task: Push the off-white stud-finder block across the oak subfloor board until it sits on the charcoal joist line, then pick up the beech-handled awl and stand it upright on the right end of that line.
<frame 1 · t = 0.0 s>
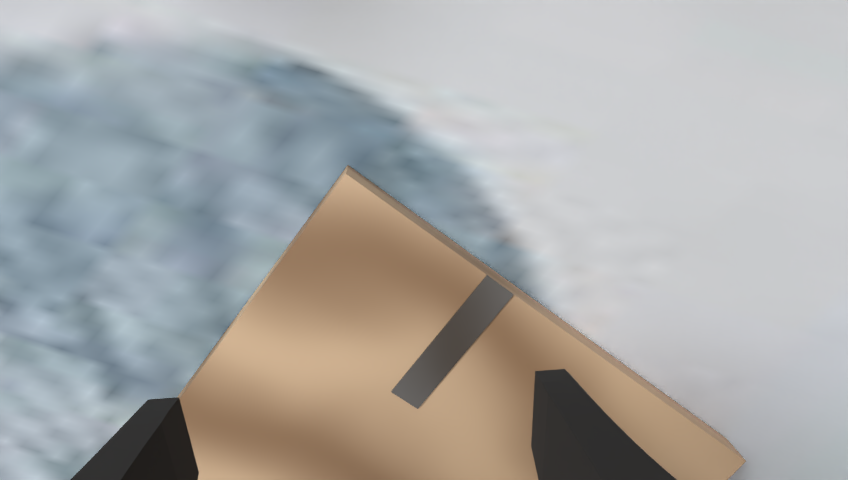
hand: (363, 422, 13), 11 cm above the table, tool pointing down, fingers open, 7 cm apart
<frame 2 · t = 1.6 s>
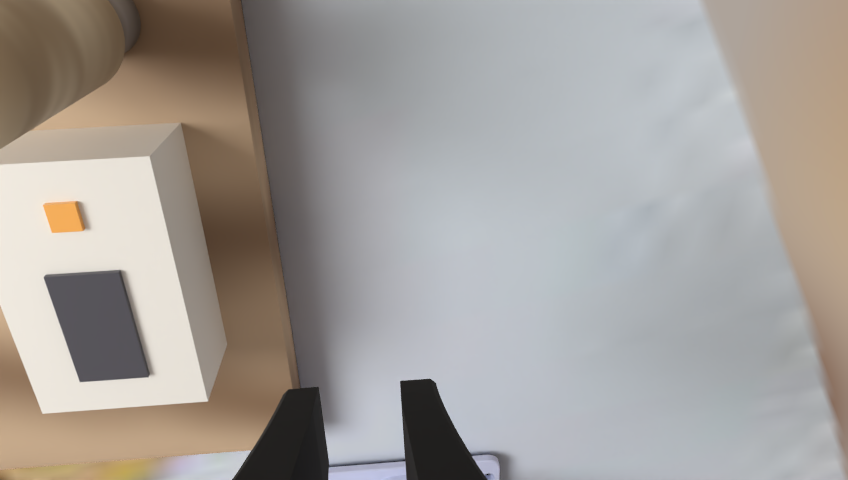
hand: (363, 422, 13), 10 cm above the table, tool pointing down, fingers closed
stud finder: (127, 247, 21), point 1 cm above the table, touching subfloor board
awl: (102, 18, 18), point 1 cm above the table, touching subfloor board
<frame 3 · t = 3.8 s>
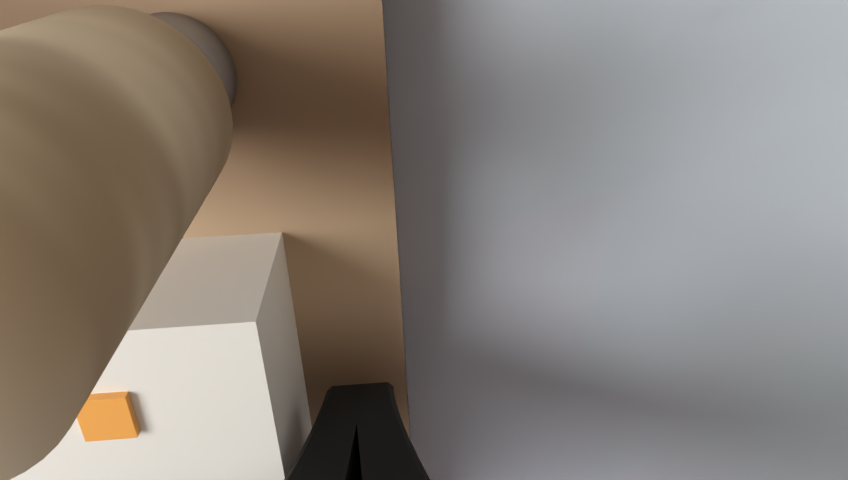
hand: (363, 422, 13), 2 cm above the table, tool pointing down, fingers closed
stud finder: (190, 406, 14), point 1 cm above the table, touching gripper, subfloor board
awl: (175, 75, 11), point 1 cm above the table, touching subfloor board
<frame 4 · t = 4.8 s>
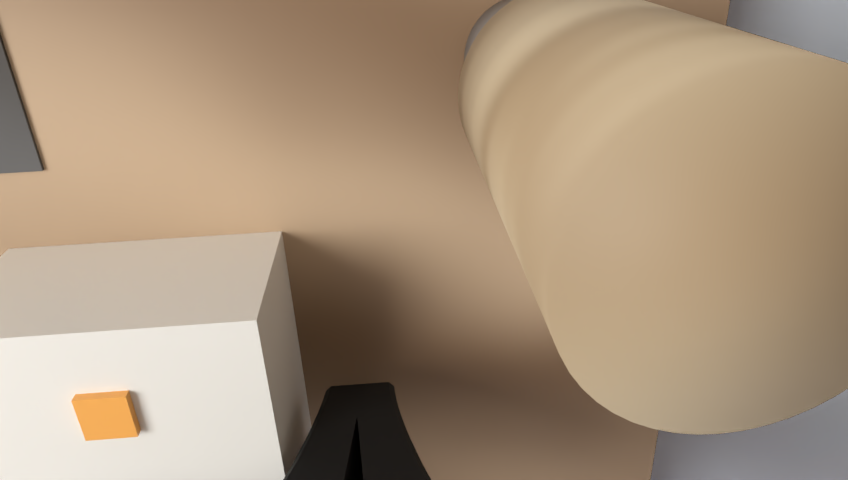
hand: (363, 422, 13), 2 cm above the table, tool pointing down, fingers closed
subfloor board: (241, 325, 15), on the table
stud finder: (189, 406, 14), point 2 cm above the table, touching gripper, subfloor board
awl: (522, 56, 11), point 1 cm above the table, touching subfloor board
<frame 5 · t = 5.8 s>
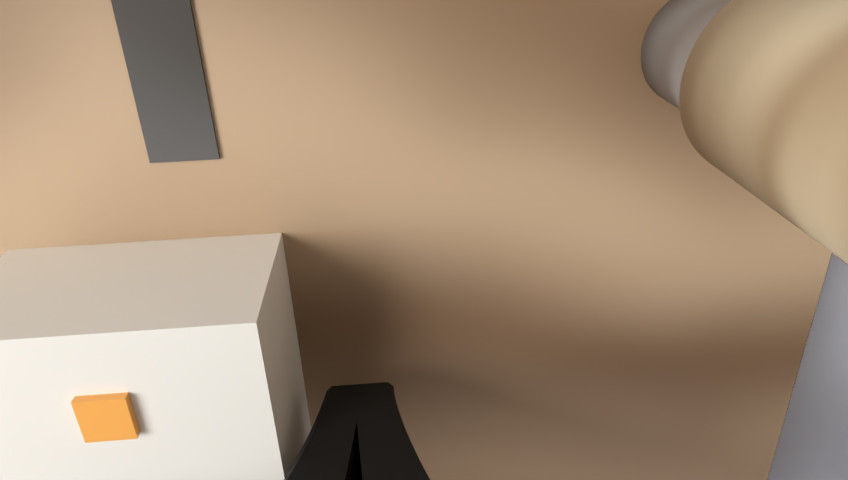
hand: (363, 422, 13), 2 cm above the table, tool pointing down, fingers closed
subfloor board: (373, 315, 15), on the table
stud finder: (189, 407, 14), point 1 cm above the table, touching gripper, subfloor board
awl: (697, 47, 11), point 1 cm above the table, touching subfloor board
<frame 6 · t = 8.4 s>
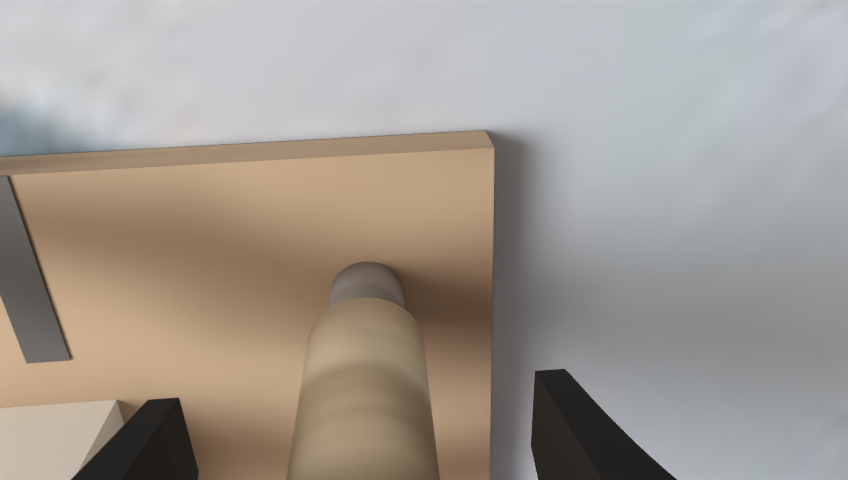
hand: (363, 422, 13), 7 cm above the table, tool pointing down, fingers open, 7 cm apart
subfloor board: (201, 435, 22), on the table
awl: (367, 293, 18), point 1 cm above the table, touching subfloor board
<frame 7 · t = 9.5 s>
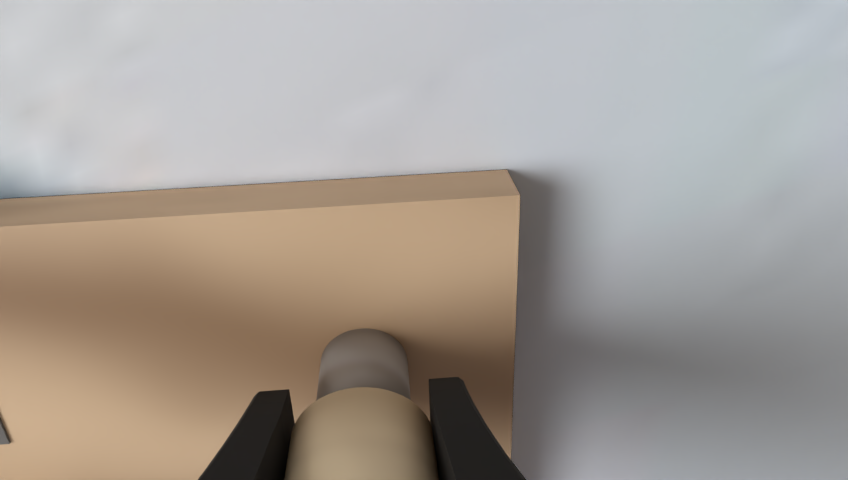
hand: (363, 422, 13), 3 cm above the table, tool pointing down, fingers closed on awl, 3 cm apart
awl: (364, 364, 15), point 1 cm above the table, touching gripper, subfloor board
when the fingers open (5 cm above the table, at t = 12.5 s): awl drops 1 cm, resting on subfloor board.
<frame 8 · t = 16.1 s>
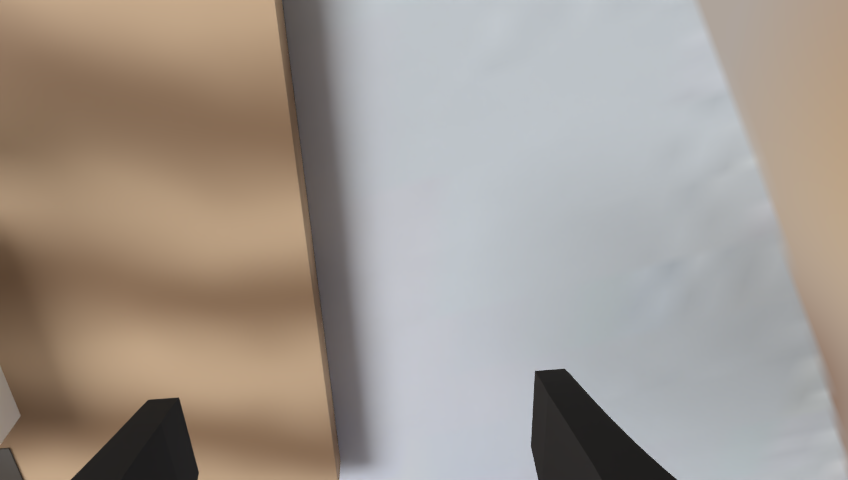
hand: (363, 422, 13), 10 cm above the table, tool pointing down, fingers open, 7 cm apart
subfloor board: (41, 272, 23), on the table
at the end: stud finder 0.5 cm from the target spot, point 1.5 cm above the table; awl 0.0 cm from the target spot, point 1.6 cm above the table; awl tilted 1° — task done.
